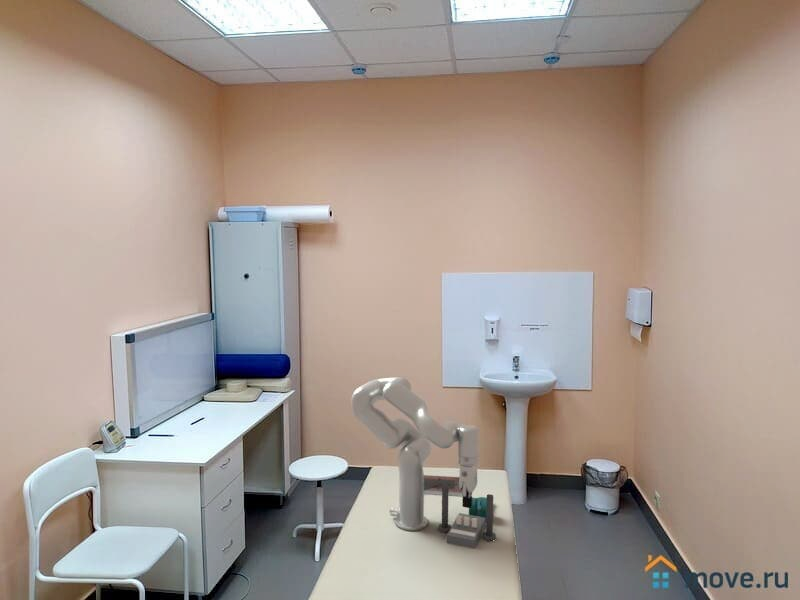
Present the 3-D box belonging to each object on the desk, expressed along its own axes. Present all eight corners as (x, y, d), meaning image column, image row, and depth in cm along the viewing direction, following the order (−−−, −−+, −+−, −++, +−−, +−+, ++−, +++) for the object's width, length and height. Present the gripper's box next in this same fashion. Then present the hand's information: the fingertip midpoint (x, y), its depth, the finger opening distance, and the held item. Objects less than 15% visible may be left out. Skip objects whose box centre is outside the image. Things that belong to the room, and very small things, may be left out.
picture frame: (412, 494, 243) (462, 497, 241) (412, 489, 243) (462, 492, 241) (415, 479, 260) (462, 481, 257) (415, 474, 259) (462, 476, 257)
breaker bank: (456, 524, 210) (456, 516, 209) (457, 522, 211) (457, 515, 211) (476, 527, 207) (476, 520, 207) (477, 526, 208) (477, 518, 208)
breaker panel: (446, 542, 203) (446, 534, 202) (459, 520, 219) (459, 512, 219) (474, 548, 199) (474, 539, 199) (485, 525, 216) (485, 517, 215)
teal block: (485, 523, 217) (486, 504, 217) (468, 521, 219) (469, 501, 219) (492, 503, 235) (492, 485, 234) (476, 501, 237) (476, 483, 236)
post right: (480, 540, 205) (481, 497, 203) (483, 533, 209) (484, 491, 208) (494, 542, 203) (495, 499, 201) (497, 536, 208) (498, 494, 206)
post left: (436, 531, 211) (437, 490, 209) (440, 525, 215) (440, 484, 214) (449, 533, 209) (449, 492, 207) (452, 527, 214) (453, 486, 212)
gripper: (473, 467, 198) (472, 517, 200) (482, 453, 212) (481, 499, 214) (452, 464, 201) (452, 513, 203) (463, 450, 215) (462, 496, 216)
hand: (467, 506), depth 208 cm, fingers closed
